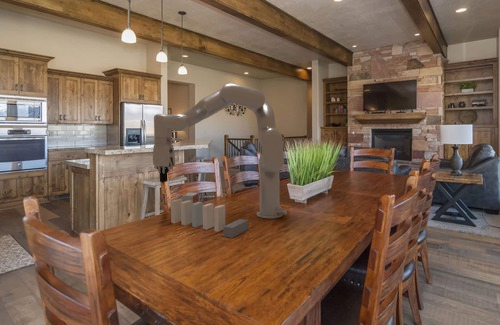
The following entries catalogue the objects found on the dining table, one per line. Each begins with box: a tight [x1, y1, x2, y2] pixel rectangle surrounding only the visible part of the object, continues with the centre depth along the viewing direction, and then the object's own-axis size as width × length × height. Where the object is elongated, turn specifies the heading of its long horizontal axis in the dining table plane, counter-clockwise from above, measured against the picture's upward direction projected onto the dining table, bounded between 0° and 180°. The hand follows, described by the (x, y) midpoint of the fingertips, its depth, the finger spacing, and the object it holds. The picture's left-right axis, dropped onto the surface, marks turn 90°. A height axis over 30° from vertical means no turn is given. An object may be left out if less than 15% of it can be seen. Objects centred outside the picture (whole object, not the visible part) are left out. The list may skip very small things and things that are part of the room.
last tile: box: [213, 204, 226, 233], centre depth 128 cm, size 2×5×10 cm, turn 150°
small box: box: [181, 192, 200, 204], centre depth 151 cm, size 8×6×10 cm
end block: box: [223, 218, 249, 239], centre depth 124 cm, size 4×12×4 cm, turn 150°
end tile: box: [170, 198, 182, 224], centre depth 140 cm, size 2×5×10 cm, turn 150°
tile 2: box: [180, 200, 192, 226], centre depth 137 cm, size 2×5×10 cm, turn 150°
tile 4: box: [202, 202, 215, 231], centre depth 131 cm, size 2×5×10 cm, turn 150°
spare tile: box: [191, 201, 204, 228], centre depth 134 cm, size 2×5×10 cm, turn 150°
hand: (163, 181), depth 142 cm, fingers closed
